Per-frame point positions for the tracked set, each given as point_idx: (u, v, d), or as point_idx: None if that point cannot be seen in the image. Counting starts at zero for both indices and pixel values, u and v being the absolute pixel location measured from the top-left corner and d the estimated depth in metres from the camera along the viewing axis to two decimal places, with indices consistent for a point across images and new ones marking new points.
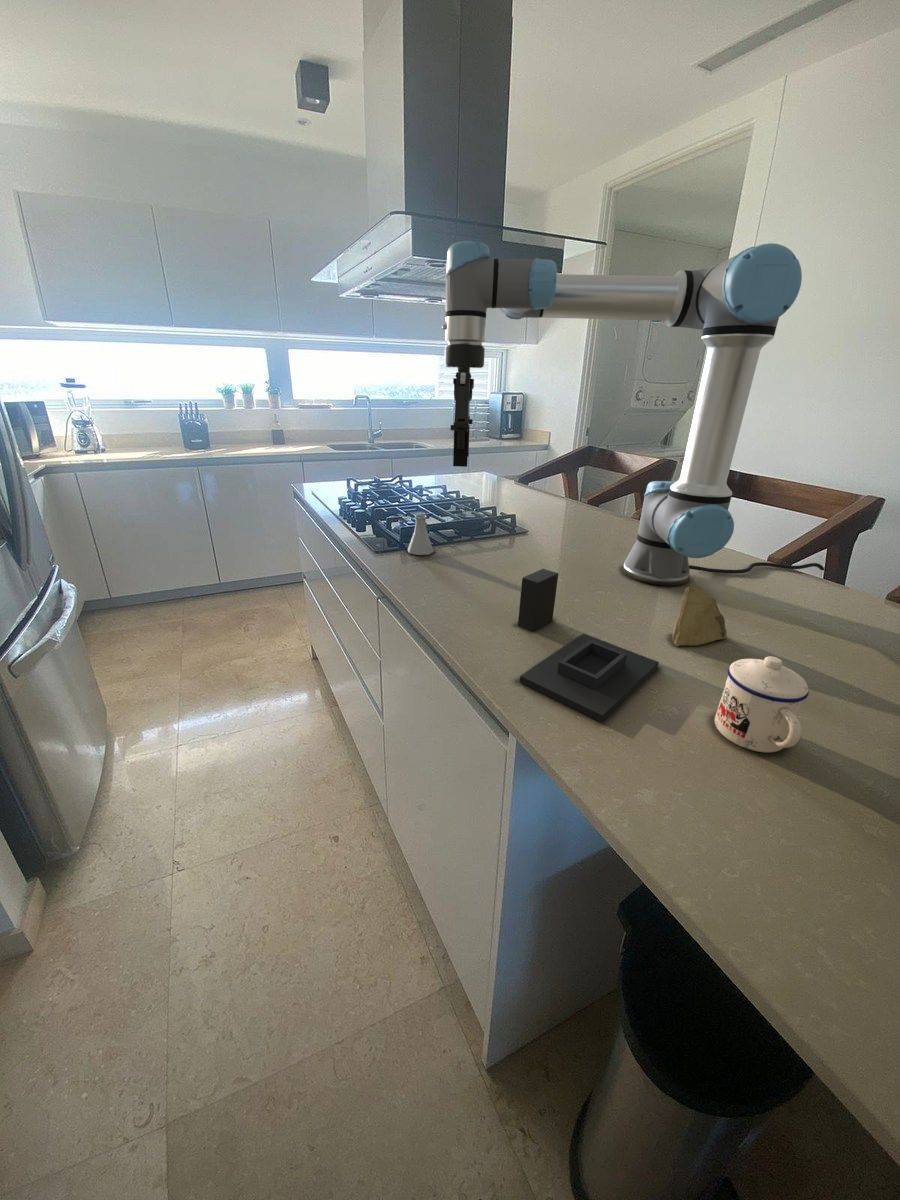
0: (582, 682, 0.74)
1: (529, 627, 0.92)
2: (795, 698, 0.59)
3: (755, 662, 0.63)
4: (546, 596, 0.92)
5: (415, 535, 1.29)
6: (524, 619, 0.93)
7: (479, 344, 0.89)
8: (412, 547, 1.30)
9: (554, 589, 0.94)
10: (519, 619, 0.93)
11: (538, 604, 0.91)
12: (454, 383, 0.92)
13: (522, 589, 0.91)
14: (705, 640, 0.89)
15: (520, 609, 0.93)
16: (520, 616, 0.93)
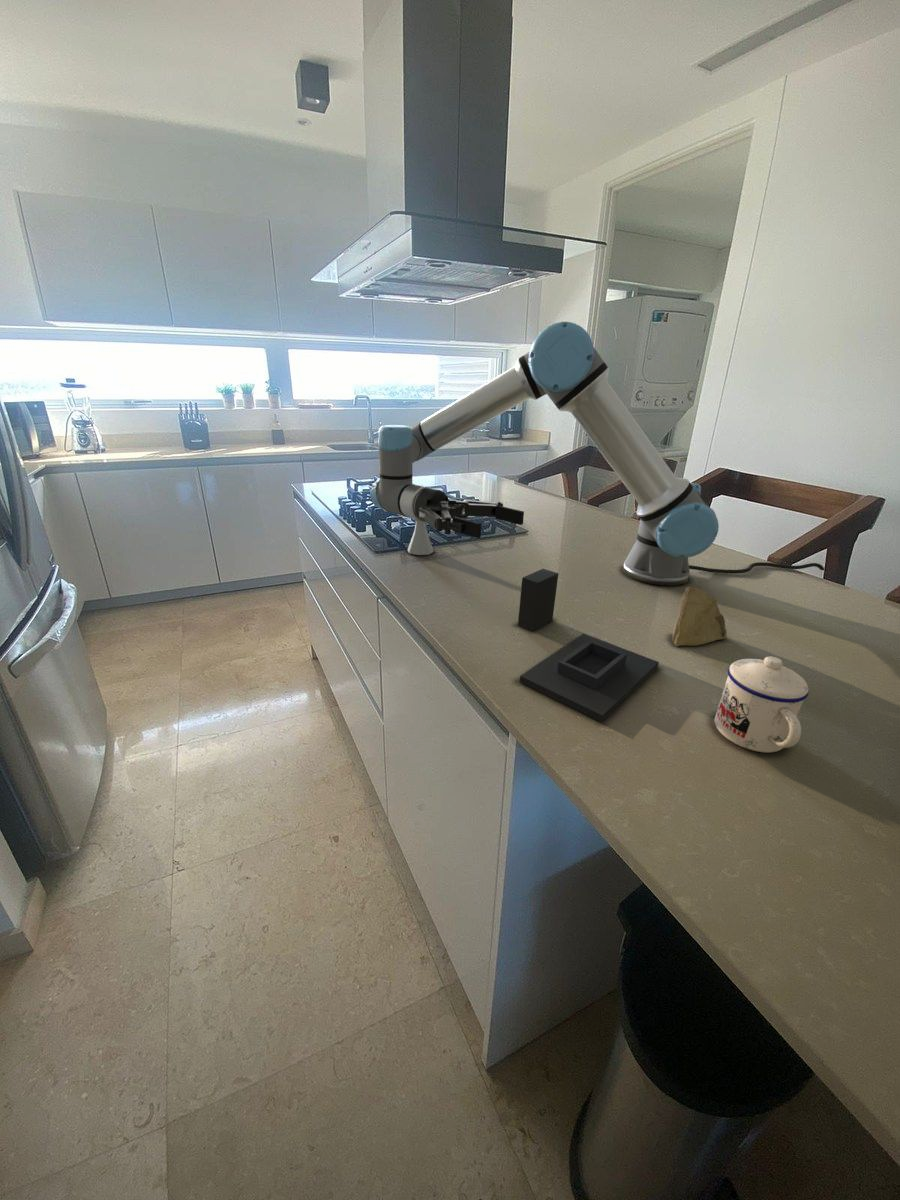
0: (582, 682, 0.74)
1: (529, 627, 0.92)
2: (795, 698, 0.59)
3: (755, 662, 0.63)
4: (546, 596, 0.92)
5: (415, 535, 1.29)
6: (524, 619, 0.93)
7: None
8: (412, 547, 1.30)
9: (554, 589, 0.94)
10: (519, 619, 0.93)
11: (538, 604, 0.91)
12: None
13: (522, 589, 0.91)
14: (705, 640, 0.89)
15: (520, 609, 0.93)
16: (520, 616, 0.93)
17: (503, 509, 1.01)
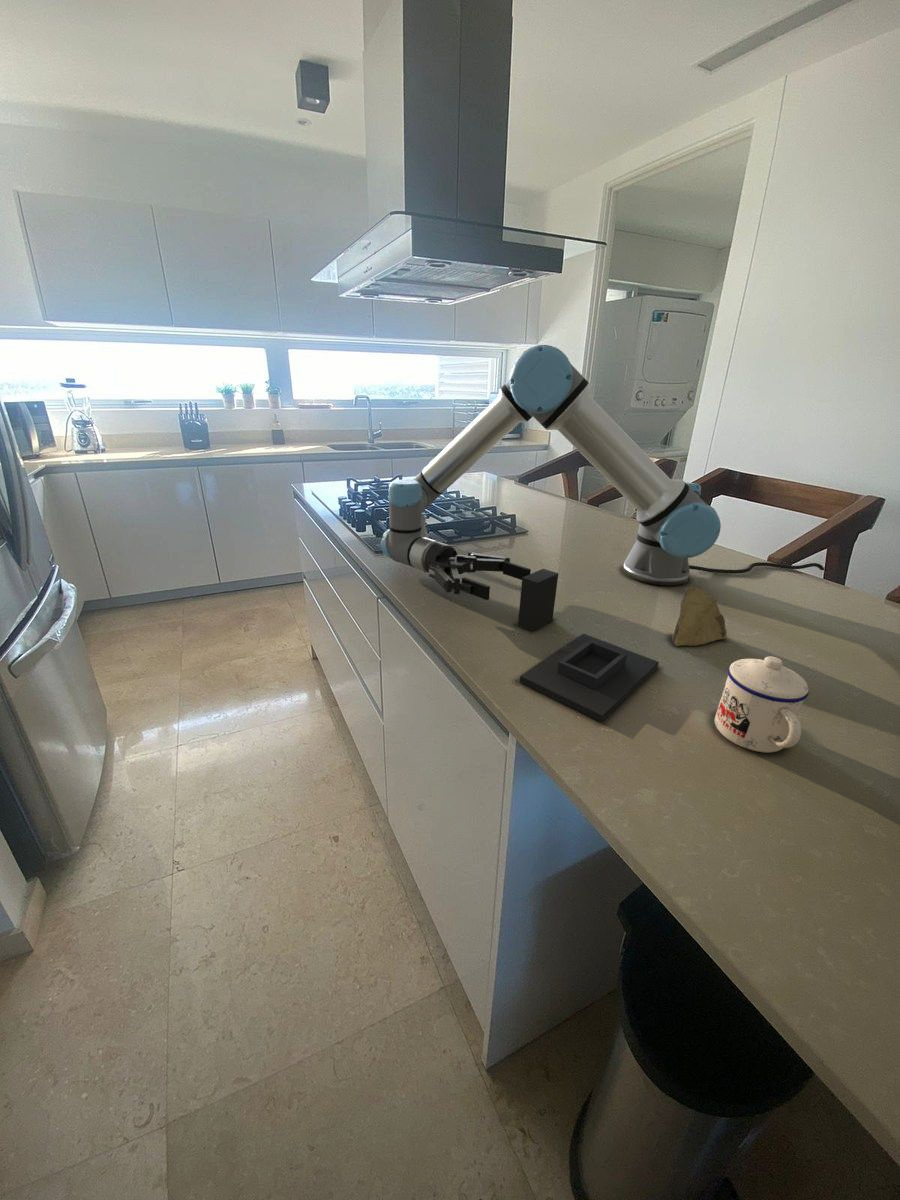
0: (582, 682, 0.74)
1: (529, 627, 0.92)
2: (795, 698, 0.59)
3: (755, 662, 0.63)
4: (546, 596, 0.92)
5: None
6: (524, 619, 0.93)
7: (429, 547, 1.08)
8: None
9: (554, 589, 0.94)
10: (519, 619, 0.93)
11: (538, 604, 0.91)
12: (448, 575, 1.05)
13: (522, 589, 0.91)
14: (705, 640, 0.89)
15: (520, 609, 0.93)
16: (520, 616, 0.93)
17: (510, 565, 1.04)
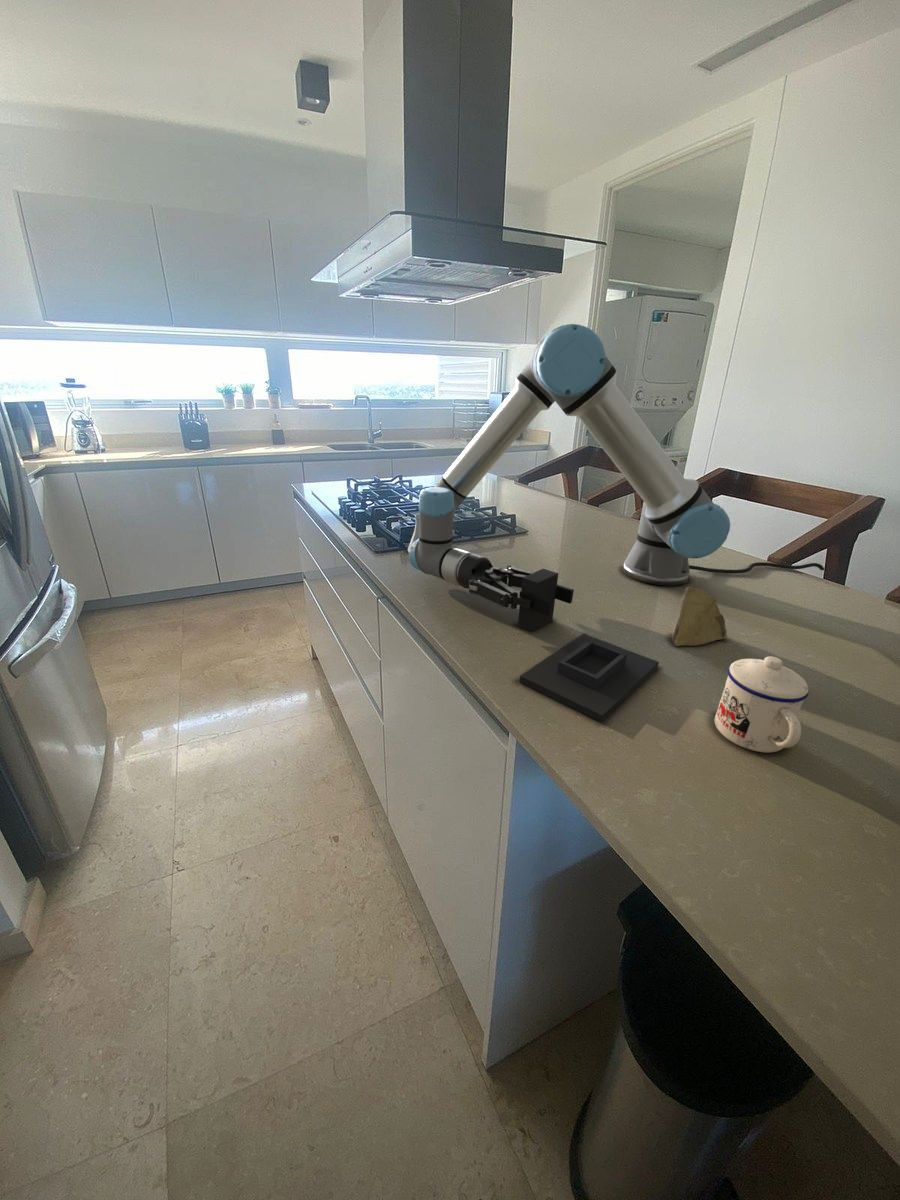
0: (582, 682, 0.74)
1: (529, 627, 0.92)
2: (795, 698, 0.59)
3: (755, 662, 0.63)
4: (546, 596, 0.92)
5: (415, 535, 1.29)
6: (524, 619, 0.93)
7: (463, 560, 1.02)
8: None
9: (554, 589, 0.94)
10: (519, 619, 0.93)
11: None
12: None
13: (522, 589, 0.91)
14: (705, 640, 0.89)
15: (520, 609, 0.93)
16: (520, 616, 0.93)
17: None
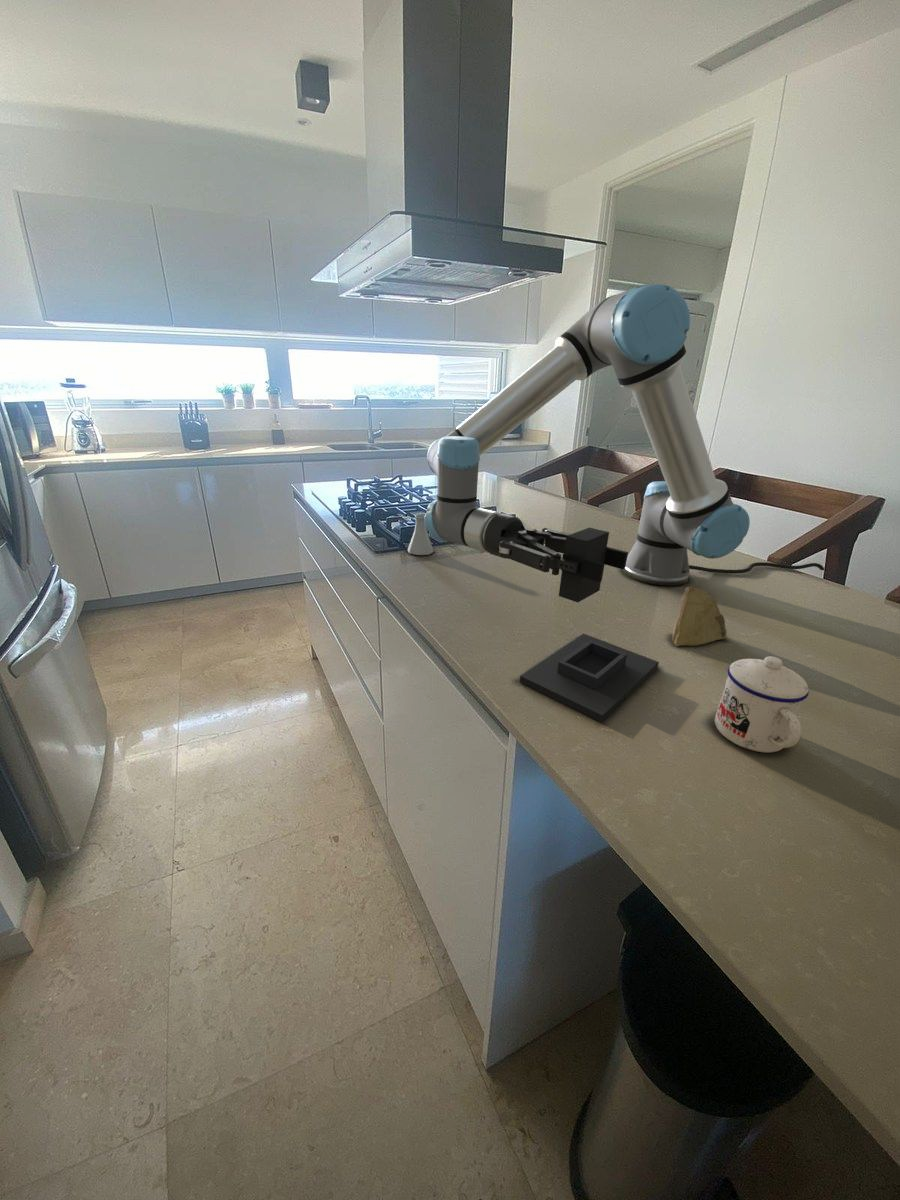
0: (582, 682, 0.74)
1: (573, 598, 0.76)
2: (795, 698, 0.59)
3: (755, 662, 0.63)
4: (594, 559, 0.75)
5: (415, 535, 1.29)
6: (567, 587, 0.76)
7: (491, 520, 0.85)
8: (412, 547, 1.30)
9: (604, 552, 0.77)
10: (561, 588, 0.77)
11: None
12: None
13: (566, 550, 0.74)
14: (705, 640, 0.89)
15: (562, 576, 0.76)
16: (562, 584, 0.77)
17: None
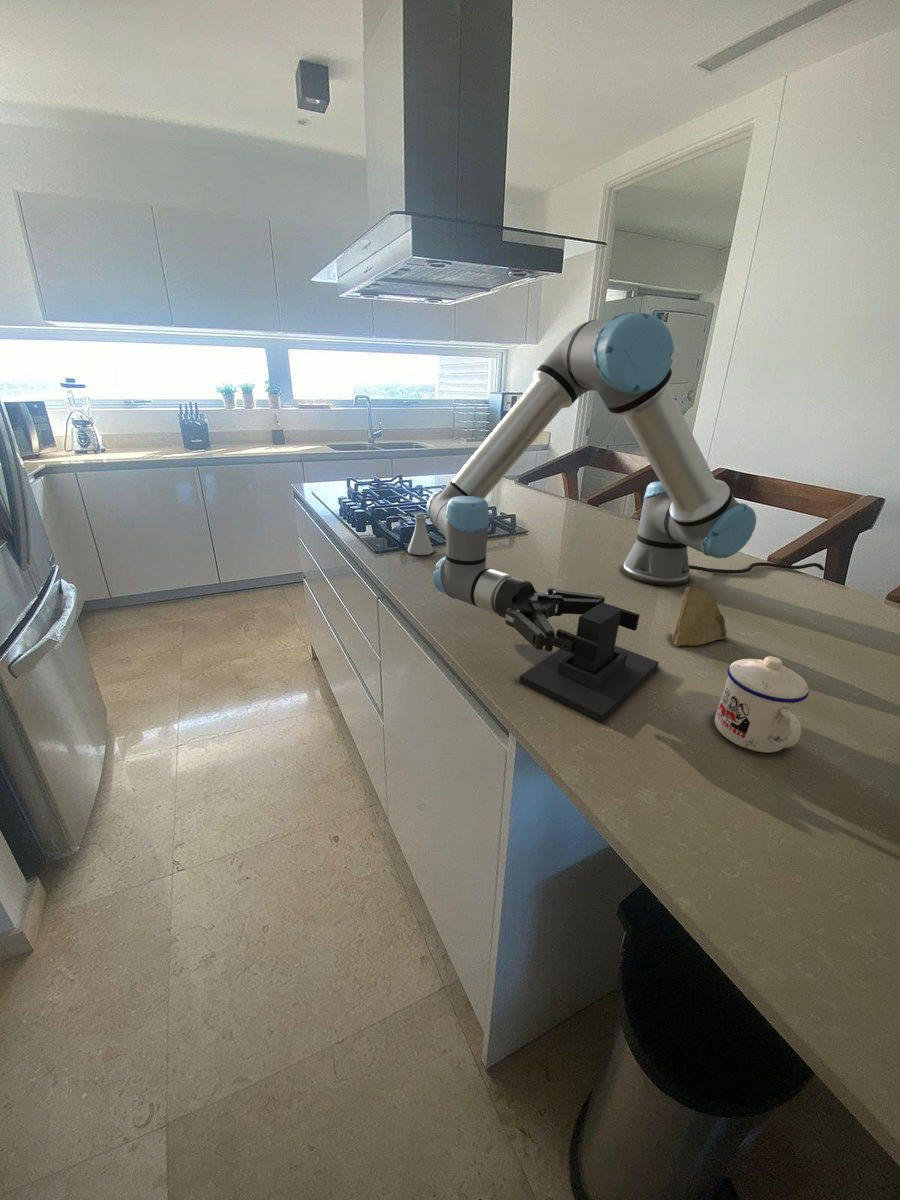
0: (582, 682, 0.74)
1: None
2: (795, 698, 0.59)
3: (755, 662, 0.63)
4: (607, 638, 0.75)
5: (415, 535, 1.29)
6: (579, 665, 0.75)
7: (501, 584, 0.84)
8: (412, 547, 1.30)
9: (616, 629, 0.76)
10: (573, 665, 0.76)
11: (599, 648, 0.73)
12: None
13: (578, 630, 0.74)
14: (705, 640, 0.89)
15: None
16: (574, 662, 0.76)
17: None
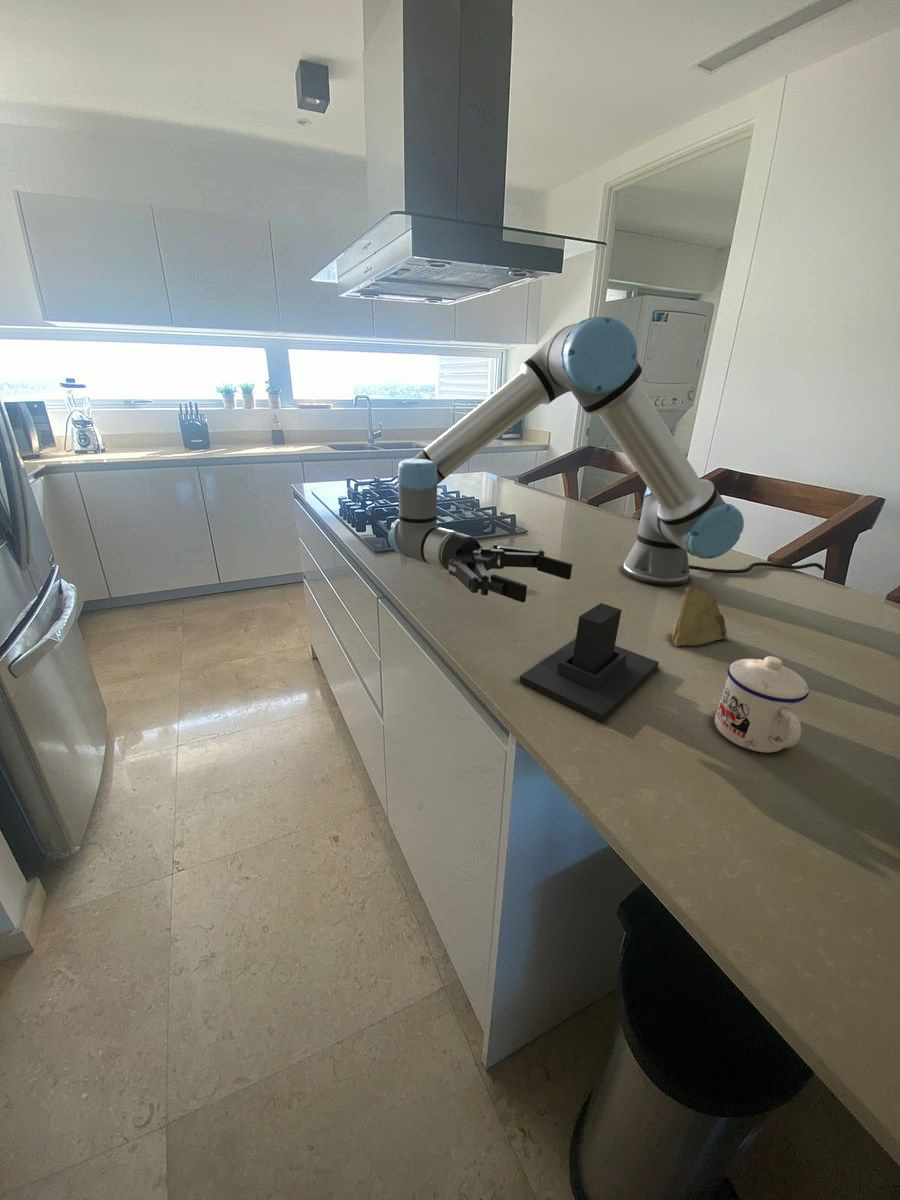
0: (582, 682, 0.74)
1: None
2: (795, 698, 0.59)
3: (755, 662, 0.63)
4: (607, 638, 0.75)
5: None
6: (579, 665, 0.75)
7: (448, 539, 0.90)
8: None
9: (616, 629, 0.76)
10: (573, 665, 0.76)
11: (599, 648, 0.73)
12: (472, 572, 0.87)
13: (578, 630, 0.74)
14: (705, 640, 0.89)
15: (575, 654, 0.75)
16: (574, 662, 0.76)
17: (546, 560, 0.86)
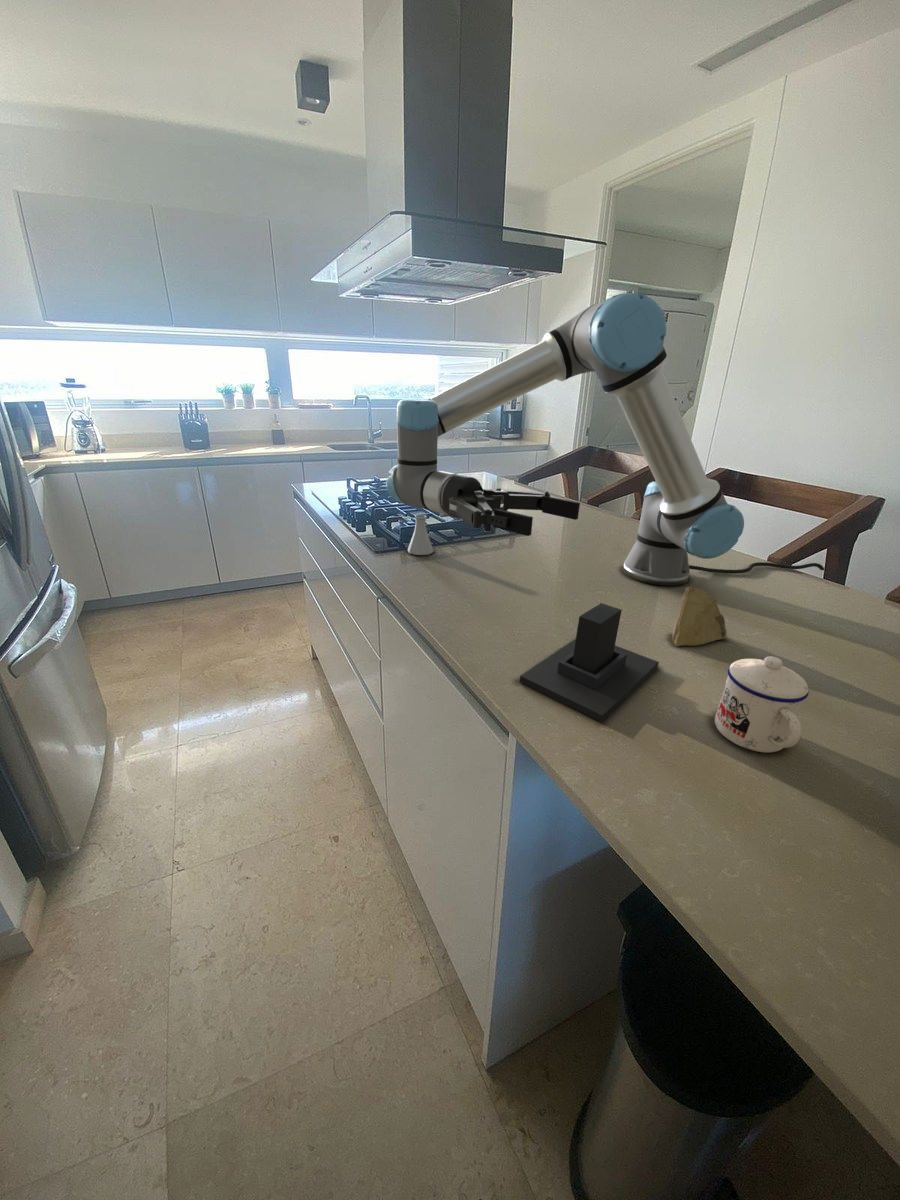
0: (582, 682, 0.74)
1: None
2: (795, 698, 0.59)
3: (755, 662, 0.63)
4: (607, 638, 0.75)
5: (415, 535, 1.29)
6: (579, 665, 0.75)
7: (449, 481, 0.86)
8: (412, 547, 1.30)
9: (616, 629, 0.76)
10: (573, 665, 0.76)
11: (599, 648, 0.73)
12: None
13: (578, 630, 0.74)
14: (705, 640, 0.89)
15: (575, 654, 0.75)
16: (574, 662, 0.76)
17: (552, 500, 0.82)
